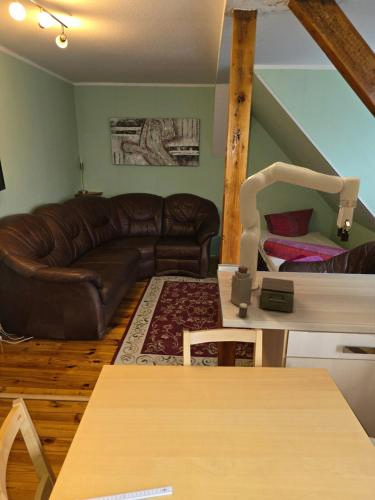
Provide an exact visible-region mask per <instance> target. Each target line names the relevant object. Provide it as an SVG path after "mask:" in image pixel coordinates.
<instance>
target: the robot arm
mask: <svg viewBox="0 0 375 500" xmlns="http://www.w3.org/2000/svg"><path fill="white" fill-rule="evenodd" d="M277 181H280V182H283V183H288V184H292V185H295V186H300V187H303V188H308V189H313V190H315V191H319V192H325V193H328V194H338V193H340V195H339V201H338V207H339V211H338V215H337V220H336V226H337V227H338V229H337V234H336V237H339V238H340V242H343V243H344V242H346V243H347V242H349V237H350V230H351V228H352V222H353V217H354V210H355V209H356V208H357V204H358V199H359V192H360V185H361V179H360V178H359V177H357V176H345V177H344V176H338V175H329V174H326V173H321V172H317V171H316V170H315V171H314V170H312V169H310V168H307V167H303V166H299V165H293V164H290V163H287V162H286V163H285V162H282V161H275V162H274V163H272V164H271V165H269V166H267V167H266V168H264V169H262V170H260V171H259V172H256V173H254V174H253V175H251V176H249V177H248V178H246V179H245V180H244V181H243V182H242V184H241V185H240V188H239V192H238V199H239V221H240V223H241V225H242V233H241V235H240V238H239V259H238V260H239V261H238V267H241V266H244V267H246V268H248V270H247V271H248V272H250V273H251V274H250V277H252V290H251V291H254V290H257V289H258V288H259V283H257V271H258V269H257V268H258V259H259V258H258V257H259V246H260V245H259V244H260V239H261V233H262V232H261V214H260V212H259V210H258V209H257V194H258V192H260V191H262V190H264V188H266V187H268V186H270V185H272V184H274V183H276V182H277ZM229 280H230V281H232V276H230V277H229Z"/></svg>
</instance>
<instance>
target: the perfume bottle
mask: <svg viewBox="0 0 375 500" xmlns="http://www.w3.org/2000/svg"><path fill="white" fill-rule="evenodd" d="M247 270H248V268H246V267H244V266H241V267H239V266H238V267H237V270H234V274H232V276H231V277H232V280H231V290H230V291H231V293H230V302H231V303H232V304H234V305H236V306H237V307H239V306H240V304H241V303H245V304H247V306H249V305H251V303H252V302H251V300H252V291H253V290H252V277H250V274H251V273H250V272H248V271H247Z"/></svg>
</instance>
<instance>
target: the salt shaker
mask: <svg viewBox="0 0 375 500" xmlns="http://www.w3.org/2000/svg"><path fill="white" fill-rule="evenodd" d="M238 317H239V318H241V319H246V318H247V317H248V305H247V304H245V303H241V304H240V306H238Z"/></svg>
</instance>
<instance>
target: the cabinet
mask: <svg viewBox="0 0 375 500" xmlns="http://www.w3.org/2000/svg"><path fill="white" fill-rule="evenodd" d="M262 290H263V291H264V290H269V291H277V292H286V293H291V294H293V297H292V306H291V312H290V313H292V312H293V305H294V296H295V284H294V280H291V279H283V278H273V277H265V276H264V277H262V282H261V287H260V298H259V309H262V308H261V300H262ZM264 309H265V310H266V308H264ZM271 310H273V309H271ZM273 311H274V310H273ZM278 311H279V312H282V311H281V310H278ZM286 312H287V313H289V312H288V311H286Z"/></svg>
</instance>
